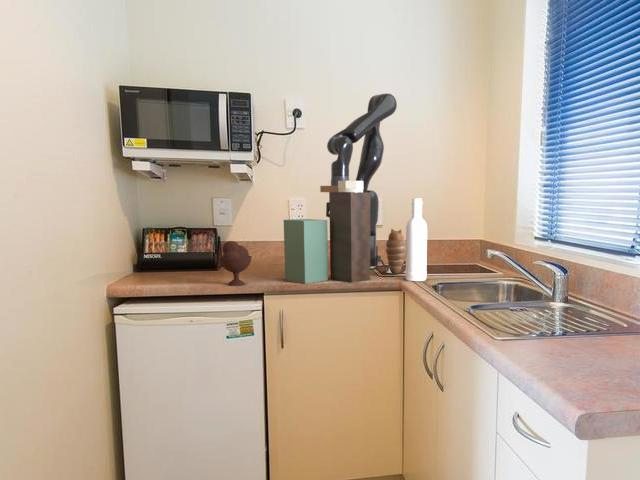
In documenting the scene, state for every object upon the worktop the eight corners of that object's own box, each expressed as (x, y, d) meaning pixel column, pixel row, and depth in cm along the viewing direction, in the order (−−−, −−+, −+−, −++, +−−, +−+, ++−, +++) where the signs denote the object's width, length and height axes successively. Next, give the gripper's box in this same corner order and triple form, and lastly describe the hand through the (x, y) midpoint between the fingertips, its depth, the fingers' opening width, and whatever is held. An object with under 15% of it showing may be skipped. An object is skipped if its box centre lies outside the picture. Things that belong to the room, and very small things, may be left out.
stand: (349, 276, 198) (348, 192, 193) (370, 279, 191) (370, 192, 186) (330, 279, 190) (329, 192, 185) (351, 282, 183) (351, 192, 178)
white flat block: (331, 192, 198) (331, 181, 197) (368, 192, 186) (368, 181, 185) (313, 192, 191) (313, 181, 190) (350, 192, 179) (350, 180, 178)
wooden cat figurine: (409, 274, 206) (410, 229, 203) (397, 276, 200) (397, 230, 197) (393, 271, 211) (393, 228, 209) (380, 273, 205) (380, 228, 203)
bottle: (416, 277, 197) (417, 198, 193) (430, 279, 192) (432, 198, 187) (400, 279, 192) (401, 198, 187) (415, 282, 186) (416, 198, 182)
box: (308, 277, 195) (307, 219, 192) (328, 280, 189) (327, 220, 185) (285, 280, 187) (283, 219, 183) (305, 283, 180) (303, 220, 177)
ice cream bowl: (232, 288, 170) (230, 242, 167) (213, 284, 176) (211, 240, 174) (259, 284, 178) (257, 240, 176) (240, 280, 185) (238, 239, 182)
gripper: (359, 187, 204) (359, 228, 206) (334, 188, 212) (334, 227, 215) (346, 187, 198) (346, 229, 200) (321, 187, 206) (321, 227, 209)
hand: (340, 228), depth 207 cm, fingers open, 8 cm apart
